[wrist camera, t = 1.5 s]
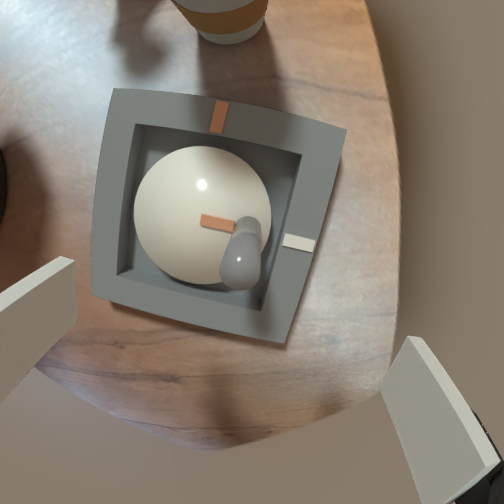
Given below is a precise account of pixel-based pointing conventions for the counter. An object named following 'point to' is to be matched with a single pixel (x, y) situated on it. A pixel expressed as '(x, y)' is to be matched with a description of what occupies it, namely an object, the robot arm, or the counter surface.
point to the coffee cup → (224, 18)
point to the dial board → (266, 166)
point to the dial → (204, 217)
